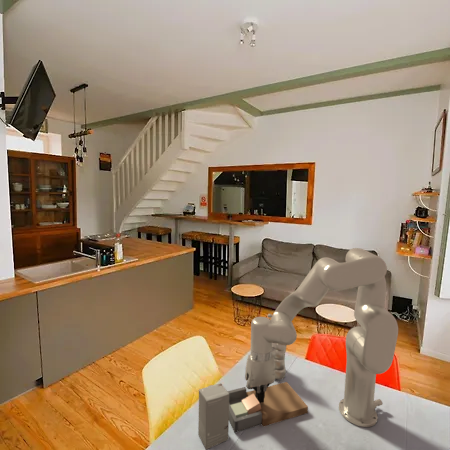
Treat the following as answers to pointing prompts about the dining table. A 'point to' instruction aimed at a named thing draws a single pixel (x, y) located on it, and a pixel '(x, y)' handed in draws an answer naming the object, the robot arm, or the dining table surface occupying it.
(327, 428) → the dining table surface
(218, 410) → the skincare box
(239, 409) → the tile
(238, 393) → the box
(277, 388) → the walnut plate
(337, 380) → the dining table surface
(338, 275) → the robot arm
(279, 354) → the metal bottle
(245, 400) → the tile
